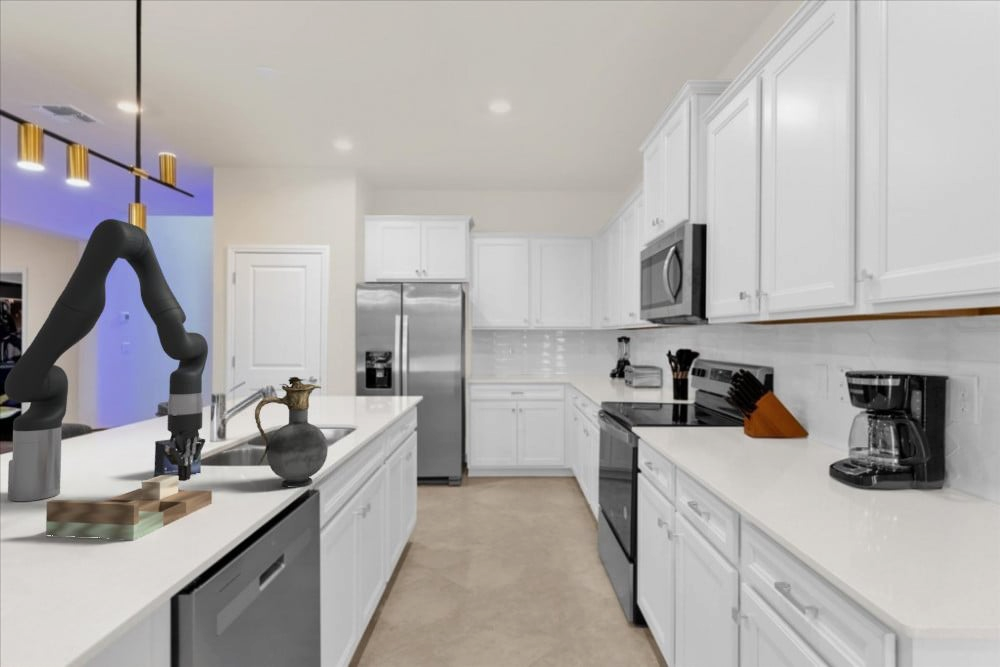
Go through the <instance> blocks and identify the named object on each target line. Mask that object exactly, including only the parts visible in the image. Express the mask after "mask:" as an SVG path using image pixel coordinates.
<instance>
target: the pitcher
mask: <svg viewBox="0 0 1000 667" xmlns="http://www.w3.org/2000/svg"><path fill="white" fill-rule="evenodd" d="M303 381H305V380H304V379H303V378H302V379H301V378H300V377H298V376H292V377H289V379H288V382H289V385H290V386H289V385H288V384H286V383H282V384H281V383H280V384H279V386H281V388H282V390H283V391H285V394H286V395H284V396H283V397H282V398H281V397H274V396H268V397H264V398H262V399H261V400H260V401H259V402H258V403H257V405H256V407H255V409H254V419H255V424H256V426H257V427H256V428H257V429H258V431H259V432H260V435H261V436H262V439H263V441H264V444H265V449H264V453H263V455H262V457H261V458H260V460H259V462H258V464H257V465H258V467H259V466H260V464H261V463H262V462H263V460H264V458H265V457H266V456H267V457H266V459H267V463H268V465H269V468H270V469H271V471H272V472H273V473H274V474H275V475H277V476H278V477H279V478H281V479H284V480H283V481H281V485H282V486H283V485H284V486H302V487H306V486H309V485H311V484H312V483H313V479H312V478H311V477H312V476H314V475H315V474H317V473H318V472H319V471H320V470H321V469H322V468H323V466H324V464H325V463H326V460H327V457H328V450H329V448H328V443H327V442H328V441H327V439H326V436H325V434H324V433H323V431H322V430H321V429H320V428H319V427H317V426H316V425H314V424H312V423H309V420H308V418H309V413H308V412H309V410H308V409H310V402H309V401H310V400H309V398H310V395H311V394H312V392H313V390H315V389H322V386H320V385H315V384H309V383H308V384H307V383H306V384H305V383H303ZM273 403H274V404H275V403H276V404H279V405H284V406H286V407H287V409H288V423H287V424H286V425H284V426H282V427H280V428H278V429H277V430H276V431H275V432H274V433H273V434H272V436H271V437H270V439H269V441H268V437H267V435H266V433H265V431H264V430H263V428H262V424H261V419H260V412H261V411H262V408H263V407H264V406H265V405H268V404H273ZM284 486H283V487H284Z"/></svg>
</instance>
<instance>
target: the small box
mask: <svg viewBox="0 0 1000 667" xmlns="http://www.w3.org/2000/svg"><path fill="white" fill-rule="evenodd" d="M154 444H155V445H154V446H155V447H154V449H155V450H154V451H155V452H154V473H153V478H154V477H157V476H160V475H170V476H178V466H177V465H171V463H170V462H169V460H168V459H167V457H166V456H165V454H164V453H163V451H162V449H163V448H164V447H168V445H169V444H170V439H162V440H155V441H154ZM201 460H202V451H201V452H200V454H199V456H198V458H197V460H194V461H193V463H192V464H191V474H194V475H197V474H196V473H200V474H201V464H202V461H201Z"/></svg>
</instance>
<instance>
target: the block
mask: <svg viewBox="0 0 1000 667" xmlns="http://www.w3.org/2000/svg"><path fill="white" fill-rule="evenodd" d="M178 478H179V476H170V475H160V476H157V477H154V476H153V477H152V478H149V479H146V480H143V481H141V489H142V499H152V500H160V499H163V498H165V497H168V496H170V495H173V494H175V493H178V490H179V480H178Z"/></svg>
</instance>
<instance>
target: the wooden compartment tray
mask: <svg viewBox="0 0 1000 667" xmlns="http://www.w3.org/2000/svg"><path fill="white" fill-rule="evenodd" d="M212 494H213V492H212V490H197V489H196V490H195V489H193V490H190V489H189V490H188V489H178V493H175V494H173V495H170V496H168V497H165V498H163V499H160V500H152V499H142V487H141V488H137V489H135V490H134V489H133V490H132V491H128V492H127V493H122V494H120V495H117V496H115V497H112V498H109V499H106V500H104V501H103V500H102V501H97V500H96V501H91V500H69V499H51V500H47V501H46V519H45V520H46V521H45V522H46V523H45V526H46V527H45V536H46V535H51V536H52V535H53V536H75V537H98V538H99V537H100V538H109V539H108V540H113V539H126V540H125V541H135V540H137V538H138V539H139V538H142V537H144V536H145V534H146V535H148V534H150V533H152V532H154V531H156V530H158V529H161V528H162V527H165V526H167V525H169V524H171V523H174V522H176V521H177V520H179V519H182V518H184V517H186V516H188V515H190V514H192V513H194V512H197V511H199V510H201V509H203V508H205V507H208V506H209V505H211V504H212V500H213V498H212V497H213V495H212ZM149 532H150V533H149ZM147 533H148V534H147ZM143 535H144V536H143ZM141 536H142V537H141Z"/></svg>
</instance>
